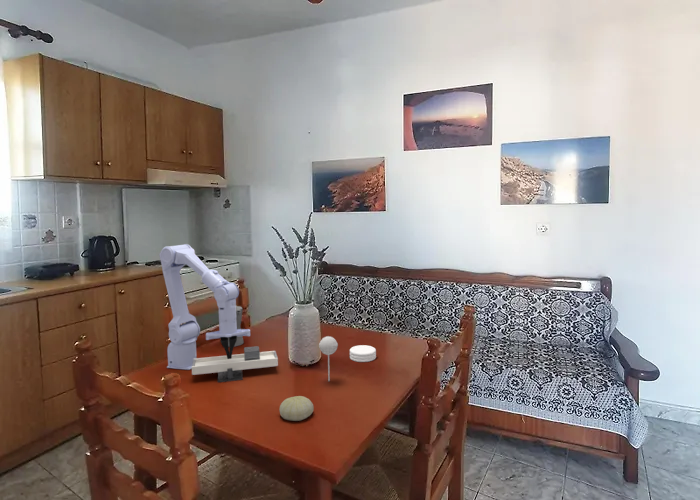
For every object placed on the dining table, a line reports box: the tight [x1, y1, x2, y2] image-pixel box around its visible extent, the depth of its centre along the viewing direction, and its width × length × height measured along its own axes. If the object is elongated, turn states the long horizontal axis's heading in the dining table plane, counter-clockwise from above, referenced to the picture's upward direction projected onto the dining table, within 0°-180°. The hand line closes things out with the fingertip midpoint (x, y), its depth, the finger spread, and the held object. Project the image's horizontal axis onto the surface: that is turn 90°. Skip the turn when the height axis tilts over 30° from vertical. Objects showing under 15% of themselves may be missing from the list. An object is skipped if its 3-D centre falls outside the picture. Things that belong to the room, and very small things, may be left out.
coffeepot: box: [228, 305, 245, 348], centre depth 184 cm, size 15×9×18 cm, turn 44°
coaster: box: [349, 344, 377, 363], centre depth 166 cm, size 10×10×4 cm
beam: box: [191, 350, 279, 376], centre depth 151 cm, size 28×8×3 cm, turn 106°
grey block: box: [243, 345, 261, 361], centre depth 152 cm, size 5×5×4 cm
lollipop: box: [318, 335, 339, 382], centre depth 143 cm, size 6×6×15 cm
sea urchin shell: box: [279, 395, 314, 422], centre depth 121 cm, size 9×8×8 cm
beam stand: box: [217, 368, 244, 383], centre depth 151 cm, size 8×12×4 cm, turn 16°
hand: (229, 357), depth 150 cm, fingers closed
